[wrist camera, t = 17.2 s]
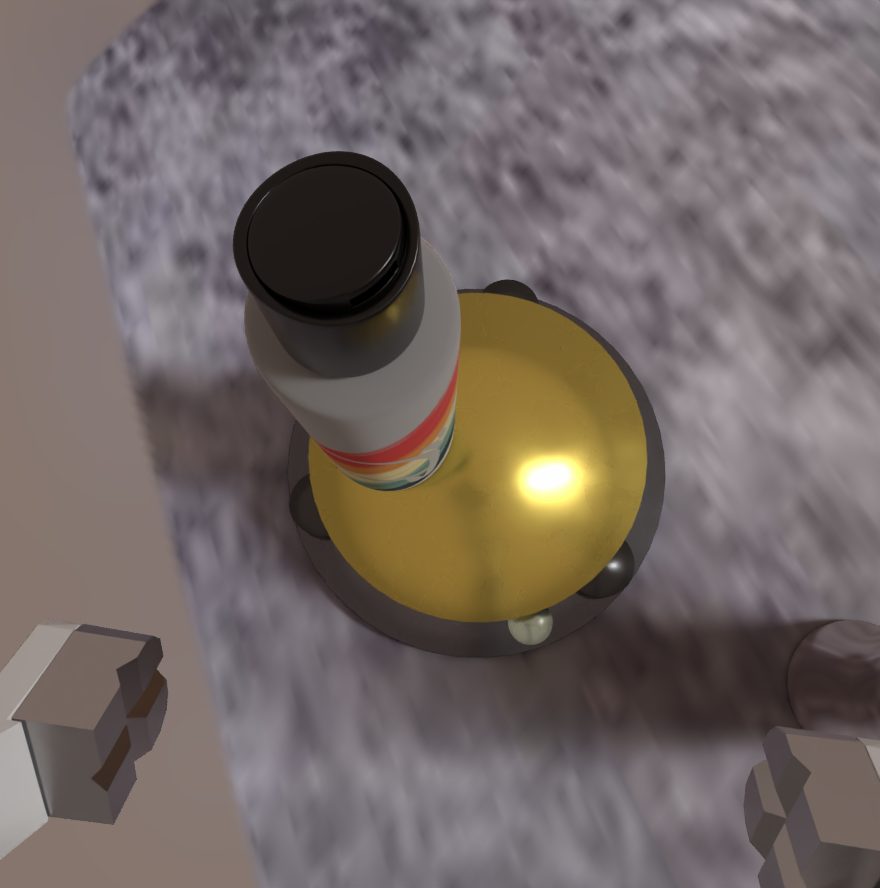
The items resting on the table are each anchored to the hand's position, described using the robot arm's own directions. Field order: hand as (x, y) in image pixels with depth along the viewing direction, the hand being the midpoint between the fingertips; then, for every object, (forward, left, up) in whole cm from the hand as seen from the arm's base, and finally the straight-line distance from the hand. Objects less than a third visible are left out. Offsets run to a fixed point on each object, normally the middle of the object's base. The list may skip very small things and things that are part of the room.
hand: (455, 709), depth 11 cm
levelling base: (+8, -4, -26) cm, 28 cm away
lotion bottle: (+10, 0, -23) cm, 25 cm away
